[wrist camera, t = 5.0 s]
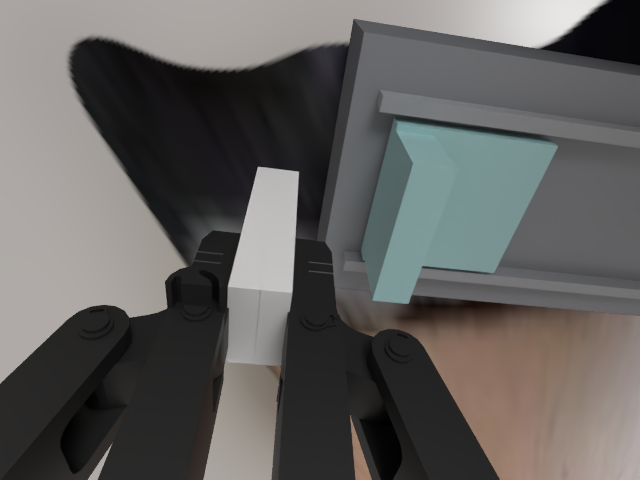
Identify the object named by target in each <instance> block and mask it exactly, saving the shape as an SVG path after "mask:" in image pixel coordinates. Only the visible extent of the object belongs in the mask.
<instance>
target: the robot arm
mask: <svg viewBox="0 0 640 480" xmlns="http://www.w3.org/2000/svg"><path fill="white" fill-rule="evenodd" d="M298 178H299V172H296V171H288V170H280V169H272V168H264V167H258V169H257V173H256V177H255V181H254V185H253V189H252V193H251V197H250V201H249V205H248V209H247V213H246V217H245V221H244V225H243V229H242V233H241V234H240V233H231V232H222V231H212V232H211V233H209V234H208V235H207V236H206V237H205V238H203V239H202V242H201V244H200V247H199V249H198V252H197V254H196V257H195V261H194V262H193V265H192V266H190V267H186V268H183V269H179V270H178V271H176V272H174V273H172V274H171V275H170V276H169V277H168V279H167V280H166V281H165V285H166V296H167V305H168V308H167V309H166V310H163V311H161V312H159V313H155V314H150V315H145V316H138V317H132V318H129V317H128V315H127V314H126V312H125V311H124V310H122V309H120V308H118V307H116V306H108V305H100V306H93V307H89V308H87V309H84V310H81V311H79V312H78V313H76V314H75V315H73V316H72V317H71V318H69V319H68V320H67V321H66V322H65V323H64V324H63V325H62V326H61V327H59V329H57V330H56V331H55V332H54V333H53V334H52V335H51V336H50V337H49V338H48V339H47V340H46V341H45V342H44V343H43V344H42V345H41V346H40V347H38V348H37V349H36V350H35V351H34V352H33V353H32V354H31V355H30V356H29V357H28V358H27V359H26V360H25V361H24V362H23V363H22V364H21V365H20V366H18V367H17V368H16V369H15V370H14V371H13V372H12V373H11V374H10V375H9V376H8V377H7V378H6V379H5V380H4V381H3V382H2V383H1V384H0V480H88V478H89V477H90V475H91V474H92V472H93V471H94V469H95V468H96V466H97V465H98V463H99V462H100V460H101V459H102V457H103V456H104V454H105V453H106V451H107V450H108V448H109V447H110V445H111V444H112V446H111V448H110V451H109V453H108V456H107V458H106V461H105V463H104V466H103V468H102V471H101V473H100V476H99V478H98V480H203V478H204V473H205V468H206V464H207V459H208V454H209V449H210V444H211V439H212V434H213V429H214V424H215V419H216V414H217V409H218V404H219V400H220V395H221V389H222V385H223V374H224V364H225V359H226V362H233V363H245V364H258V365H271V366H281V374H280V381H279V387H278V394H277V402H278V404H277V417H276V430H275V442H274V456H273V468H272V480H355V469H354V458H353V446H352V434H351V422H350V415H351V419H352V421H353V424H354V427H355V430H356V433H357V436H358V439H359V442H360V445H361V448H362V451H363V454H364V457H365V460H366V463H367V466H368V469H369V472H370V475H371V478H372V480H500V479H499V477H498V476H497V474H496V472H495V470H494V469H493V467H492V465H491V463H490V462H489V460H488V458H487V456H486V455H485V453H484V451H483V449H482V448H481V446H480V444H479V442H478V441H477V439H476V437H475V435H474V434H473V432H472V430H471V428H470V427H469V425H468V423H467V422H466V420H465V418H464V416H463V415H462V413H461V411H460V409H459V408H458V406H457V404H456V402H455V401H454V399H453V397H452V395H451V394H450V392H449V390H448V388H447V387H446V385H445V383H444V381H443V380H442V378H441V376H440V374H439V373H438V371H437V369H436V368H435V366H434V364H433V362H432V361H431V359H430V357H429V355H428V354H427V352H426V350H425V348H424V347H423V346H422V344H421V343H420V342H419V341H418V339H416V338H415V337H413V336H412V335H410V334H409V333H406V332H403V331H401V330H395V329H387V330H384V331H380V332H379V333H378V334H377V335H375V336H374V337H372V336H369V335H366V334H363V333H361V332H358V331H356V330H354V329H352V328H350V327H349V326H348V325H346V324H345V323H344V322H343V321H342V320H341V319H340V316H339V315H338V313H337V309H336V300H335V287H334V275H333V260H332V252H331V250H330V249H329V247H328V246H327V244H326V243H325V242H323V241H314V240H305V239H295V234H296V215H297V197H298Z"/></svg>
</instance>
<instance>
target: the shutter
mask: <svg viewBox="0 0 640 480" xmlns="http://www.w3.org/2000/svg"><path fill="white" fill-rule="evenodd" d="M557 148H558V146H557V145H556V144H555V143H553V142H552V141H551V140H549V139H546V138H539V137H532V136H525V135H517V134H510V133H503V132H496V131H489V130H481V129H474V128H467V127H460V126H452V125H445V124H438V123H431V122H423V121H416V120H409V119H402V118H395V117H394V120H393V124H392V128H391V132H390V136H389V140H388V144H387V148H386V152H385V156H384V160H383V164H382V168H381V172H380V176H379V180H378V184H377V188H376V192H375V196H374V200H373V203H372V207H371V211H370V215H369V219H368V223H367V227H366V231H365V235H364V239H363V243H362V247H361V253H362V258H363V260H365V264H366V270H367V275H368V280H369V286H370V291H371V296H372V301H382V302H393V303H404V304H408V303H409V301H410V298H411V295H412V293H413V290H414V287H415V285H416V282H417V279H418V276H419V274H420V271H421V268H422V266H429V267H439V268H449V269H459V270H469V271H479V272H489V273H494V272H495V270H496V268H497V266H498V264H499V262H500V260H501V258H502V256H503V254H504V252H505V250H506V248H507V246H508V244H509V242H510V240H511V238H512V236H513V234H514V232H515V230H516V229H517V227H518V225H519V223H520V221H521V219H522V217H523V215H524V213H525V211H526V209H527V207H528V205H529V203H530V201H531V199H532V197H533V195H534V193H535V191H536V189H537V187H538V185H539V183H540V181H541V179H542V177H543V175H544V173H545V171H546V169H547V167H548V165H549V164H550V162H551V160H552V158H553V156H554V154H555V152H556V150H557Z"/></svg>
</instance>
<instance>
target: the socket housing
mask: <svg viewBox="0 0 640 480" xmlns="http://www.w3.org/2000/svg"><path fill="white" fill-rule="evenodd" d="M394 117H395V118H402V119H409V120H416V121H423V122H431V123H438V124H445V125H452V126H460V127H467V128H474V129H481V130H489V131H496V132H503V133H510V134H517V135H525V136H532V137H539V138H546V139H549V140H551V141H552V142H553V143H555V144H556V145H557V146H558V148H557V150H556V152H555V154H554V156H553V158H552V160H551V162H550V164H549V165H548V167H547V169H546V171H545V173H544V175H543V177H542V179H541V181H540V183H539V185H538V187H537V189H536V191H535V193H534V195H533V197H532V199H531V201H530V203H529V205H528V207H527V209H526V211H525V213H524V215H523V217H522V219H521V221H520V223H519V225H518V227H517V229H516V230H515V232H514V234H513V236H512V238H511V240H510V242H509V244H508V246H507V248H506V250H505V252H504V254H503V256H502V258H501V260H500V262H499V264H498V266H497V268H496V270H495V272H494V273H489V272H479V271H469V270H459V269H449V268H439V267H429V266H422V268H421V271H420V274H419V276H418V279H417V282H416V285H415V287H414V290H413V293H412V295H419V296H430V297H441V298H451V299H462V300H473V301H484V302H495V303H506V304H516V305H527V306H538V307H549V308H560V309H571V310H581V311H592V312H603V313H614V314H625V315H635V316H640V65H634V64H628V63H622V62H616V61H609V60H603V59H597V58H591V57H585V56H579V55H572V54H566V53H560V52H554V51H548V50H542V49H535V48H529V47H523V46H517V45H511V44H505V43H499V42H492V41H486V40H480V39H474V38H468V37H462V36H455V35H449V34H443V33H437V32H431V31H424V30H418V29H412V28H406V27H400V26H394V25H387V24H381V23H375V22H369V21H363V20H357V19H354V20H353V27H352V32H351V38H350V44H349V50H348V56H347V62H346V68H345V73H344V79H343V85H342V91H341V97H340V103H339V109H338V115H337V121H336V127H335V133H334V139H333V145H332V151H331V157H330V162H329V168H328V174H327V180H326V186H325V192H324V198H323V204H322V210H321V216H320V222H319V228H318V234H317V240H316V241H323V242H325V243H326V244H327V246H328V247H329V249H330V250H331V252H332V260H333V275H334V287H335V288H343V289H354V290H365V291H370V286H369V280H368V275H367V270H366V264H365V260H363V258H362V253H361V247H362V243H363V239H364V235H365V231H366V227H367V223H368V219H369V215H370V211H371V207H372V203H373V200H374V196H375V192H376V188H377V184H378V180H379V176H380V172H381V168H382V164H383V160H384V156H385V152H386V148H387V144H388V140H389V136H390V132H391V128H392V124H393V120H394Z"/></svg>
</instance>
